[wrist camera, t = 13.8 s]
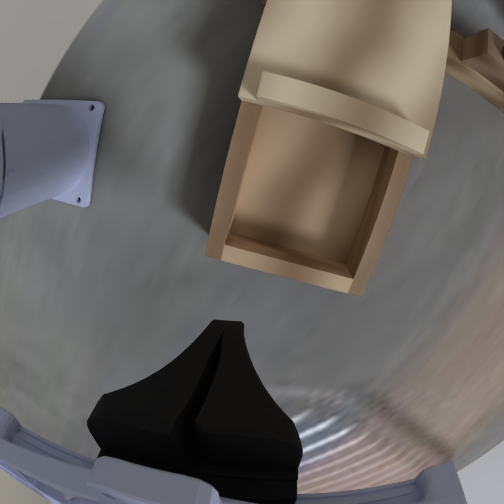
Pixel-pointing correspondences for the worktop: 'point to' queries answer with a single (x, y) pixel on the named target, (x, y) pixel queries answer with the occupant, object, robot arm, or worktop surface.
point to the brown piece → (314, 192)
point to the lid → (354, 66)
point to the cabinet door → (485, 56)
